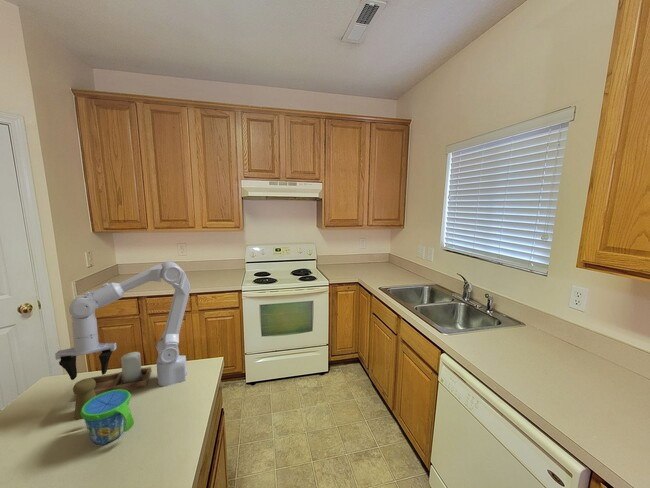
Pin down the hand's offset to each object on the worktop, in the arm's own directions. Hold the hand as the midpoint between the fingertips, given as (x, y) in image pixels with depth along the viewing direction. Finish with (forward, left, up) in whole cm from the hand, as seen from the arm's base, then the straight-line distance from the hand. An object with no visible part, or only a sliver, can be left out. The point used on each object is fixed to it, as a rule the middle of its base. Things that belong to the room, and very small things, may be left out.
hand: (89, 375), depth 86 cm
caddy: (-5, -9, -10) cm, 14 cm away
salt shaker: (-9, -9, -10) cm, 16 cm away
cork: (0, +4, -11) cm, 11 cm away
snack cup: (-9, +16, -11) cm, 21 cm away
